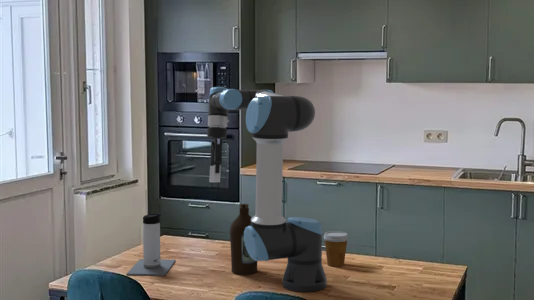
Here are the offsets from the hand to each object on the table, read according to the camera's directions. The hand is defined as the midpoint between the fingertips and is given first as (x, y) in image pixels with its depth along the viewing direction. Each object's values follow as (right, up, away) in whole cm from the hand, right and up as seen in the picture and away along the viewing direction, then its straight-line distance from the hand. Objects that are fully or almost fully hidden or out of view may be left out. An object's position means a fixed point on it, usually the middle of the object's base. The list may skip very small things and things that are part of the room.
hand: (214, 182), depth 256 cm
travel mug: (-23, -31, -7) cm, 39 cm away
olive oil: (+12, -32, -12) cm, 37 cm away
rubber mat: (-23, -32, -7) cm, 40 cm away
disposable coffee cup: (+46, -32, -3) cm, 56 cm away
